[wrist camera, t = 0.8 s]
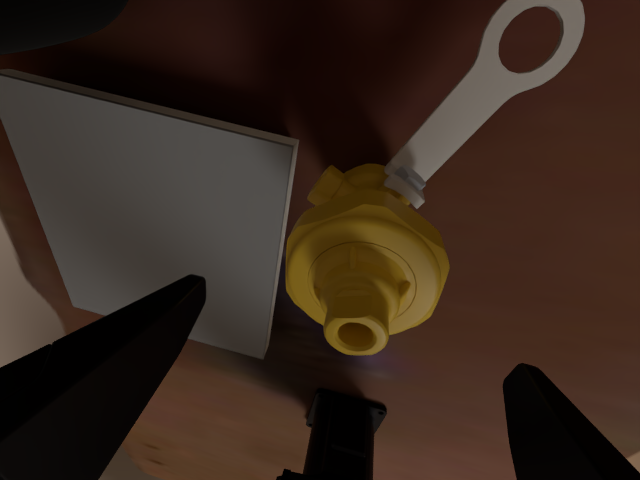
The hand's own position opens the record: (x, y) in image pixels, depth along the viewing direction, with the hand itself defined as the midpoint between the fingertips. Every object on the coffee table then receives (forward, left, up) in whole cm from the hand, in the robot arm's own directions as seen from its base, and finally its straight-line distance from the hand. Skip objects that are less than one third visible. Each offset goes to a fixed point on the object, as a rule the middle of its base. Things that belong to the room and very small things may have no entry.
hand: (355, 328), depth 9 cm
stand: (-6, +12, -10) cm, 16 cm away
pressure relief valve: (+3, -1, -10) cm, 10 cm away
